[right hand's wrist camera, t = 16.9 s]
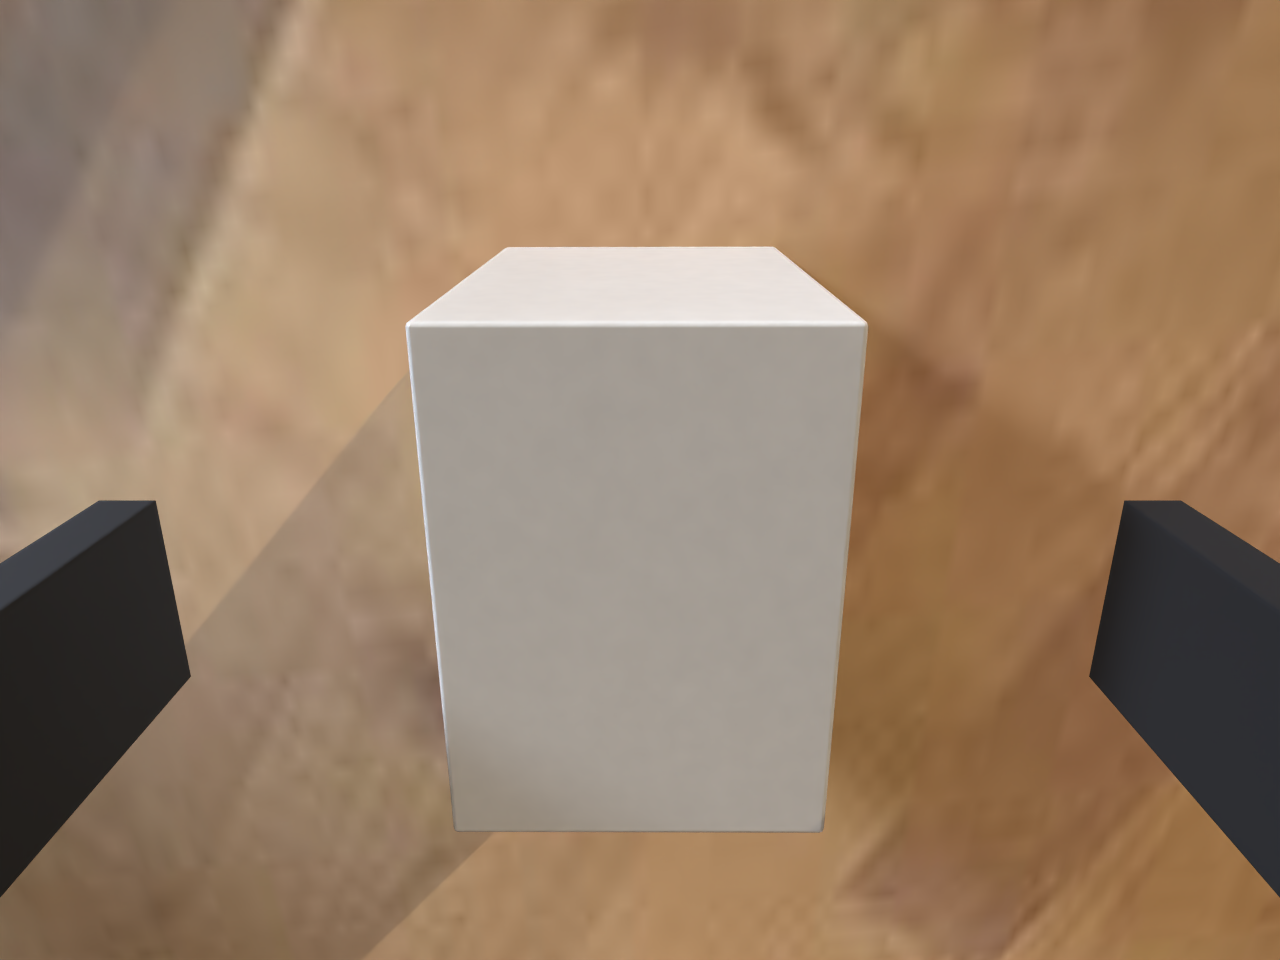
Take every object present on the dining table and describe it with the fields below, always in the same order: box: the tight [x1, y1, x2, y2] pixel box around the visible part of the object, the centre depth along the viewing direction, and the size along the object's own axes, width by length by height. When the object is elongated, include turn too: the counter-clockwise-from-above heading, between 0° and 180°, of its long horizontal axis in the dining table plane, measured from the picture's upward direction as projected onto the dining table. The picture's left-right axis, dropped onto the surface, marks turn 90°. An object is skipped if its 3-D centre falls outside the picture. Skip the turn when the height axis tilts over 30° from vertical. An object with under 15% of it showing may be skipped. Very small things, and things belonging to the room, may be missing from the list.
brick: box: [406, 247, 868, 833], centre depth 15 cm, size 7×5×8 cm
